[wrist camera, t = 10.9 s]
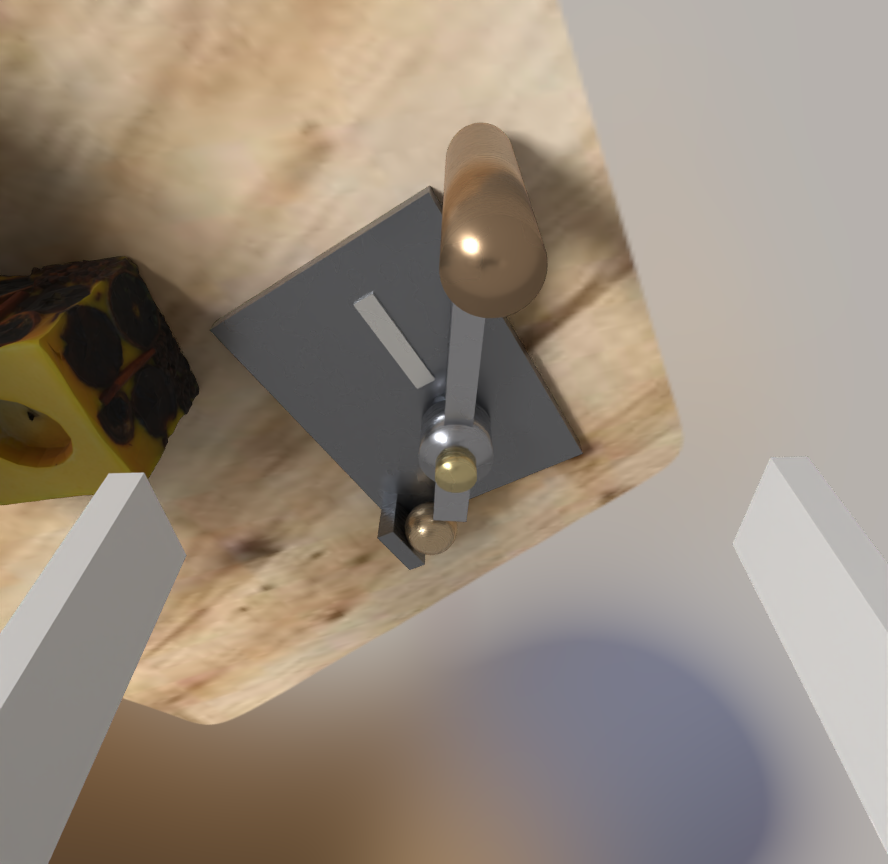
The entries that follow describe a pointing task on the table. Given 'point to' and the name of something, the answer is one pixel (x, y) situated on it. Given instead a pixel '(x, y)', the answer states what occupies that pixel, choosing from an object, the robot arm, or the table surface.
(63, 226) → the table surface
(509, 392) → the base
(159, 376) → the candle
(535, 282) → the lever
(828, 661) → the robot arm
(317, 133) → the table surface
